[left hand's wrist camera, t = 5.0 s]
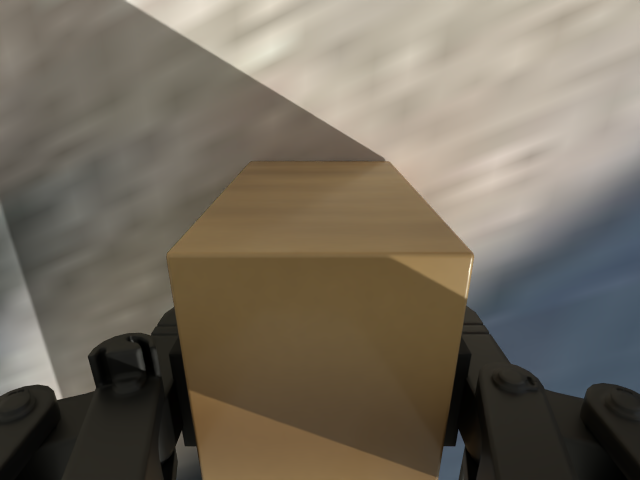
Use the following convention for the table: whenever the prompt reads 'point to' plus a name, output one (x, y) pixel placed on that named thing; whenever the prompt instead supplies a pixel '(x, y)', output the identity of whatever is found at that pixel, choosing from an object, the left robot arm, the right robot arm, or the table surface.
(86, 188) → the table surface
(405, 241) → the beam
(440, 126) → the table surface
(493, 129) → the table surface
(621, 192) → the table surface
